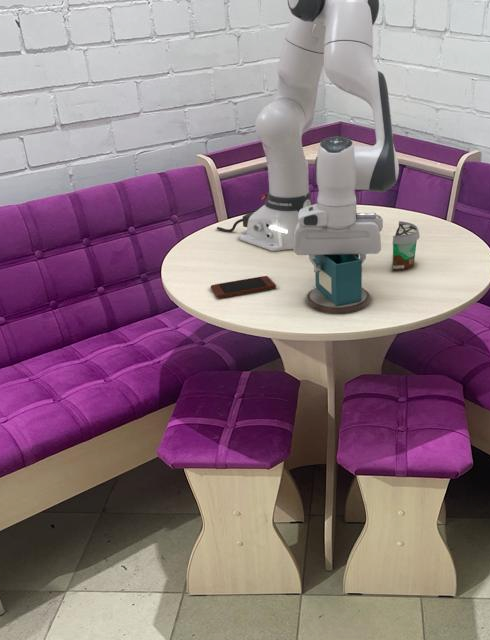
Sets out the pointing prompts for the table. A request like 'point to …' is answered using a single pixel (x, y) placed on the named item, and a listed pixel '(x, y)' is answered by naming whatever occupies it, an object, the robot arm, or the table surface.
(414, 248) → the food container
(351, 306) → the disc
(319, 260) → the bin
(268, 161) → the robot arm
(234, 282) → the smartphone
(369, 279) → the table surface
